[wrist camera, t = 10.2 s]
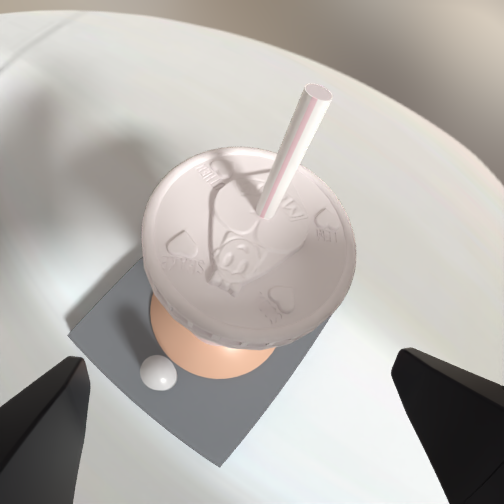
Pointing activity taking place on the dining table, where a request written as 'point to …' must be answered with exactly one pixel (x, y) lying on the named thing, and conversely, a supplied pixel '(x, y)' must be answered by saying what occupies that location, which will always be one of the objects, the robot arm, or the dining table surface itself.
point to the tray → (183, 368)
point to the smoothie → (250, 240)
